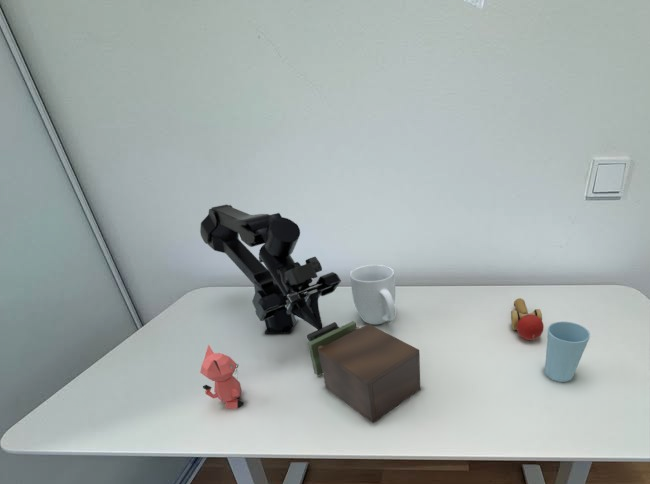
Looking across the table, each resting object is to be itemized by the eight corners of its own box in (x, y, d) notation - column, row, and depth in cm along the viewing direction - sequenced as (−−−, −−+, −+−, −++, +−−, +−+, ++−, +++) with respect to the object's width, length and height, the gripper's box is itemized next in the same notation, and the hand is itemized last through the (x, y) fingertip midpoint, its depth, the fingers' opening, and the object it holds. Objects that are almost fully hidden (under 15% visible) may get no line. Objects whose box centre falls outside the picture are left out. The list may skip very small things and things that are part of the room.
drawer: (303, 365, 80) (295, 335, 76) (345, 343, 87) (340, 314, 83) (355, 403, 70) (349, 370, 65) (398, 375, 77) (396, 343, 72)
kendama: (500, 312, 102) (511, 340, 85) (507, 291, 99) (519, 315, 83) (528, 317, 102) (544, 346, 86) (535, 296, 99) (553, 321, 83)
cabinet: (325, 388, 75) (317, 349, 70) (372, 360, 83) (368, 323, 77) (373, 423, 67) (367, 382, 61) (420, 389, 74) (419, 349, 69)
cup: (575, 390, 73) (587, 346, 67) (536, 379, 76) (544, 336, 70) (580, 368, 78) (592, 326, 72) (543, 359, 81) (551, 318, 75)
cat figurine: (253, 405, 71) (235, 355, 65) (215, 420, 68) (191, 368, 62) (245, 386, 76) (227, 337, 70) (209, 398, 73) (187, 348, 67)
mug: (413, 327, 94) (411, 279, 87) (374, 341, 89) (369, 291, 82) (384, 304, 105) (380, 260, 97) (348, 316, 100) (342, 270, 92)
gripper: (245, 261, 68) (290, 332, 68) (329, 236, 79) (368, 297, 79) (239, 288, 77) (278, 351, 77) (315, 262, 88) (350, 317, 88)
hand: (320, 328), depth 80 cm, fingers closed, pressing on drawer
